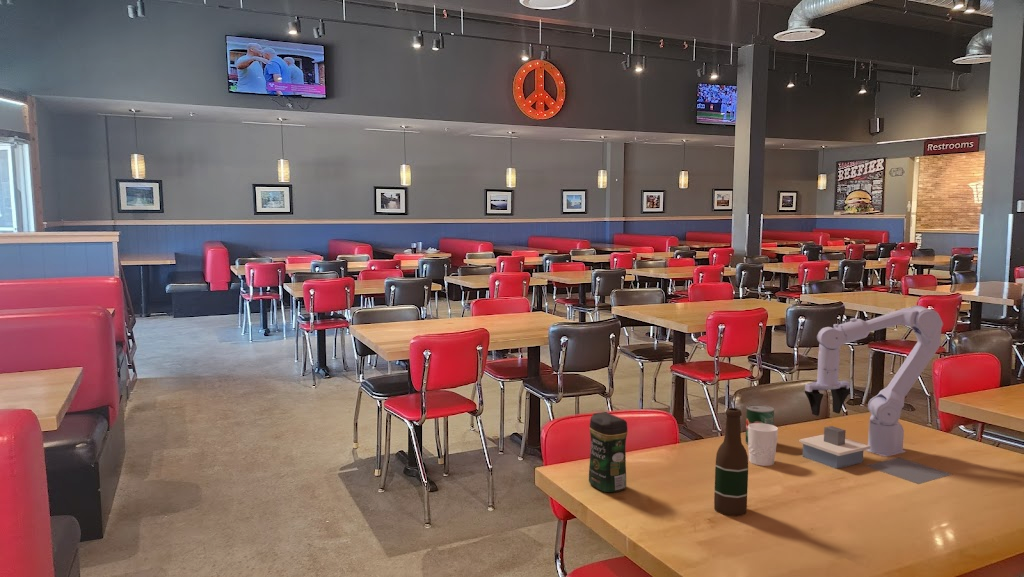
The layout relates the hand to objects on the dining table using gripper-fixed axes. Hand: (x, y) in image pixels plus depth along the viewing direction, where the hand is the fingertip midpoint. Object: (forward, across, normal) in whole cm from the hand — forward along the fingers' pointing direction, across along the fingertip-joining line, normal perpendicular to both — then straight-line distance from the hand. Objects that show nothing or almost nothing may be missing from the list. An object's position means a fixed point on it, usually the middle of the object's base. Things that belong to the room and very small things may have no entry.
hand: (826, 413), depth 208 cm
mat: (+10, +7, -23) cm, 26 cm away
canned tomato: (+11, -16, +9) cm, 21 cm away
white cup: (+11, -26, -4) cm, 28 cm away
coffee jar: (+11, -75, -8) cm, 76 cm away
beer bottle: (+11, -54, -30) cm, 62 cm away
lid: (+6, -6, -10) cm, 13 cm away
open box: (+10, -6, -10) cm, 15 cm away
